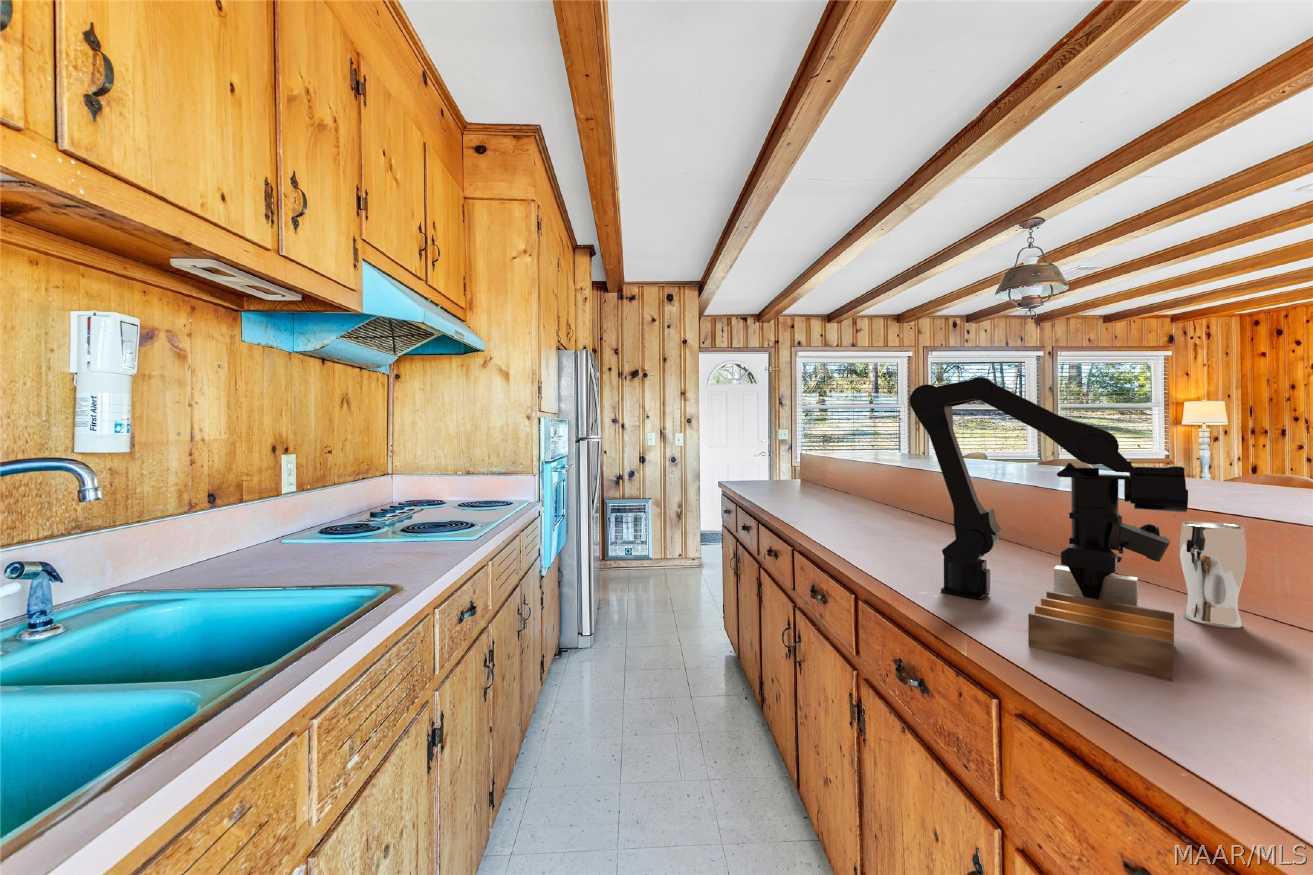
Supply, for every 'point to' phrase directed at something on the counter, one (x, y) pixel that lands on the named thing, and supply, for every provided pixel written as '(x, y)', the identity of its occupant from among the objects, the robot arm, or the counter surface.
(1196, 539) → the beer glass
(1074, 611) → the walnut rack
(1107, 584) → the aluminium panel
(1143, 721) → the counter surface
